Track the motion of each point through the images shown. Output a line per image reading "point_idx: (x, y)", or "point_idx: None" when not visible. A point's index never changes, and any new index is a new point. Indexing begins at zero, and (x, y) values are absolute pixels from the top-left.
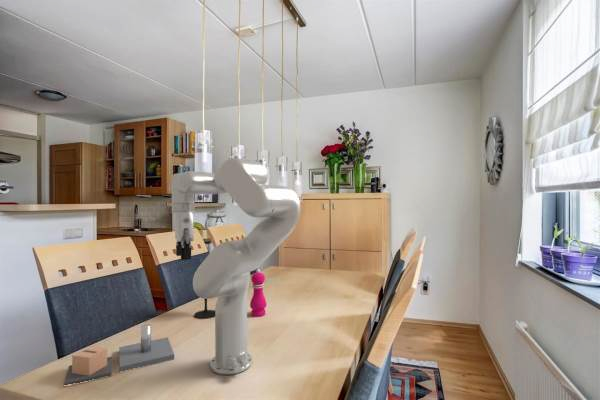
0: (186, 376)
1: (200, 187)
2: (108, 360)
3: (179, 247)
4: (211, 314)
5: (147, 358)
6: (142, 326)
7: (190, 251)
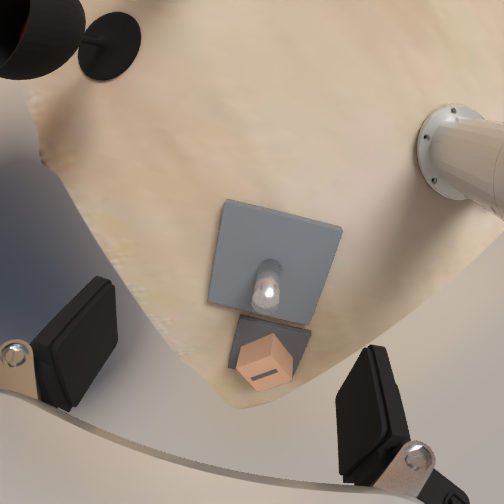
0: (425, 241)
1: None
2: (254, 326)
3: (81, 378)
4: (126, 32)
5: (314, 280)
6: (262, 310)
7: (396, 404)
